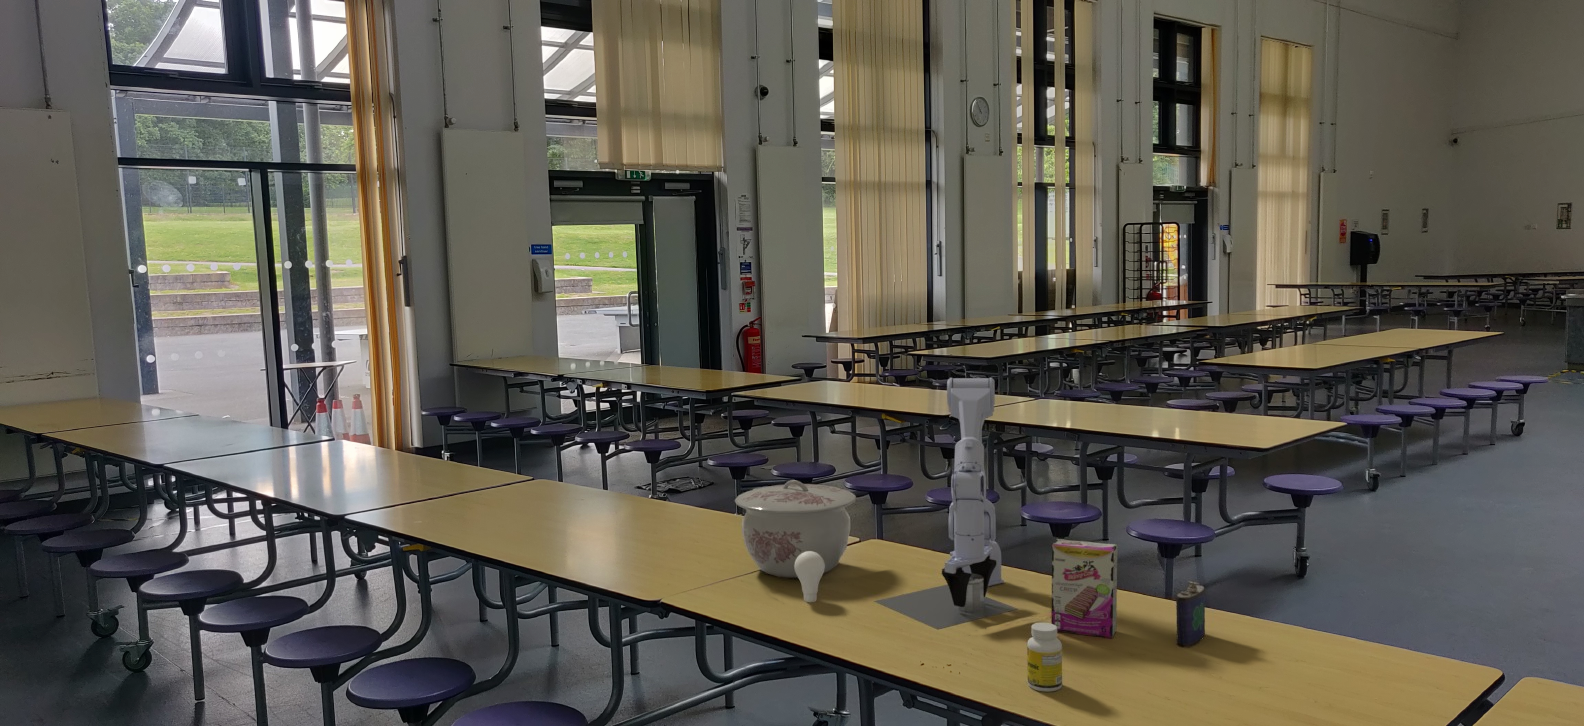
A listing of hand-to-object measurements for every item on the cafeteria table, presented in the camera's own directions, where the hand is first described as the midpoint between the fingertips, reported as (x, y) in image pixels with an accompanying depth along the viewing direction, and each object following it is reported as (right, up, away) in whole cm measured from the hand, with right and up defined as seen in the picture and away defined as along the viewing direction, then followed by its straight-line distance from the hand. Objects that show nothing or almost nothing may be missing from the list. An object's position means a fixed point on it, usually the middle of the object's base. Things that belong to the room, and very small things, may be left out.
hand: (969, 600), depth 200 cm
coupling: (0, -1, 0) cm, 1 cm away
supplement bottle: (+6, -6, -36) cm, 37 cm away
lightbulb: (-31, -3, +7) cm, 32 cm away
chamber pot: (-34, -1, +32) cm, 47 cm away
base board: (-5, -2, +2) cm, 6 cm away
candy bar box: (+19, -3, -12) cm, 23 cm away
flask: (+37, -3, -17) cm, 41 cm away
